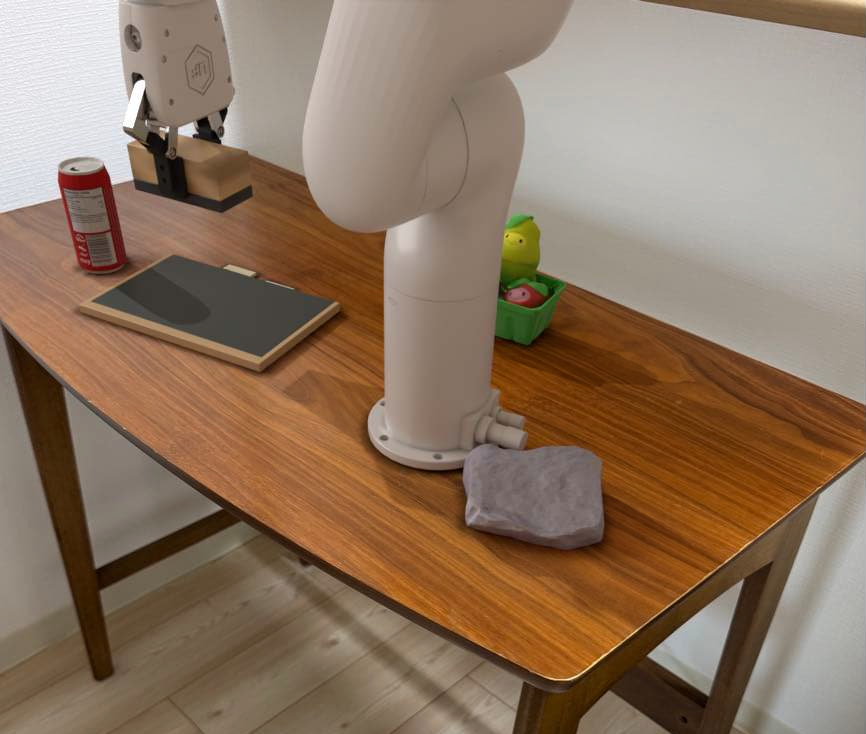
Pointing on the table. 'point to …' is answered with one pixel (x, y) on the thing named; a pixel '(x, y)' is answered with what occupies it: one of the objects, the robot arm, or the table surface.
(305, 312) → the chalkboard
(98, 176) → the soda can
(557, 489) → the stone block
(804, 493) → the table surface
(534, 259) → the fruit basket
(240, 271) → the chalk mark
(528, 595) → the table surface
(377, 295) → the table surface
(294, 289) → the white chalk stick
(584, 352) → the table surface
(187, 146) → the eraser
